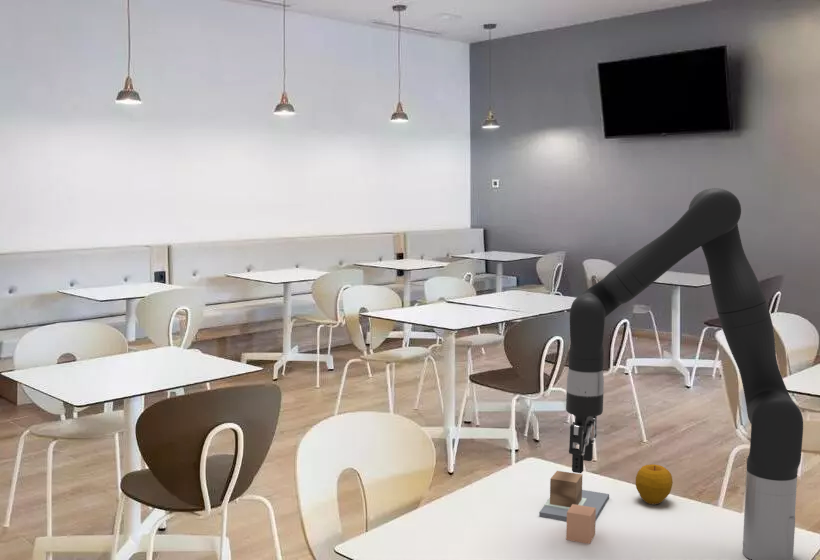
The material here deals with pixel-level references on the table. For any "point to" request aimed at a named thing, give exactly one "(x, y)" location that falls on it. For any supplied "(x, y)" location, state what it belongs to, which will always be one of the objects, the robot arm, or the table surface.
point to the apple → (653, 483)
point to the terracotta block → (580, 523)
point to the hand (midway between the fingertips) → (582, 466)
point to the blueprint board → (587, 500)
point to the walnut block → (565, 489)
